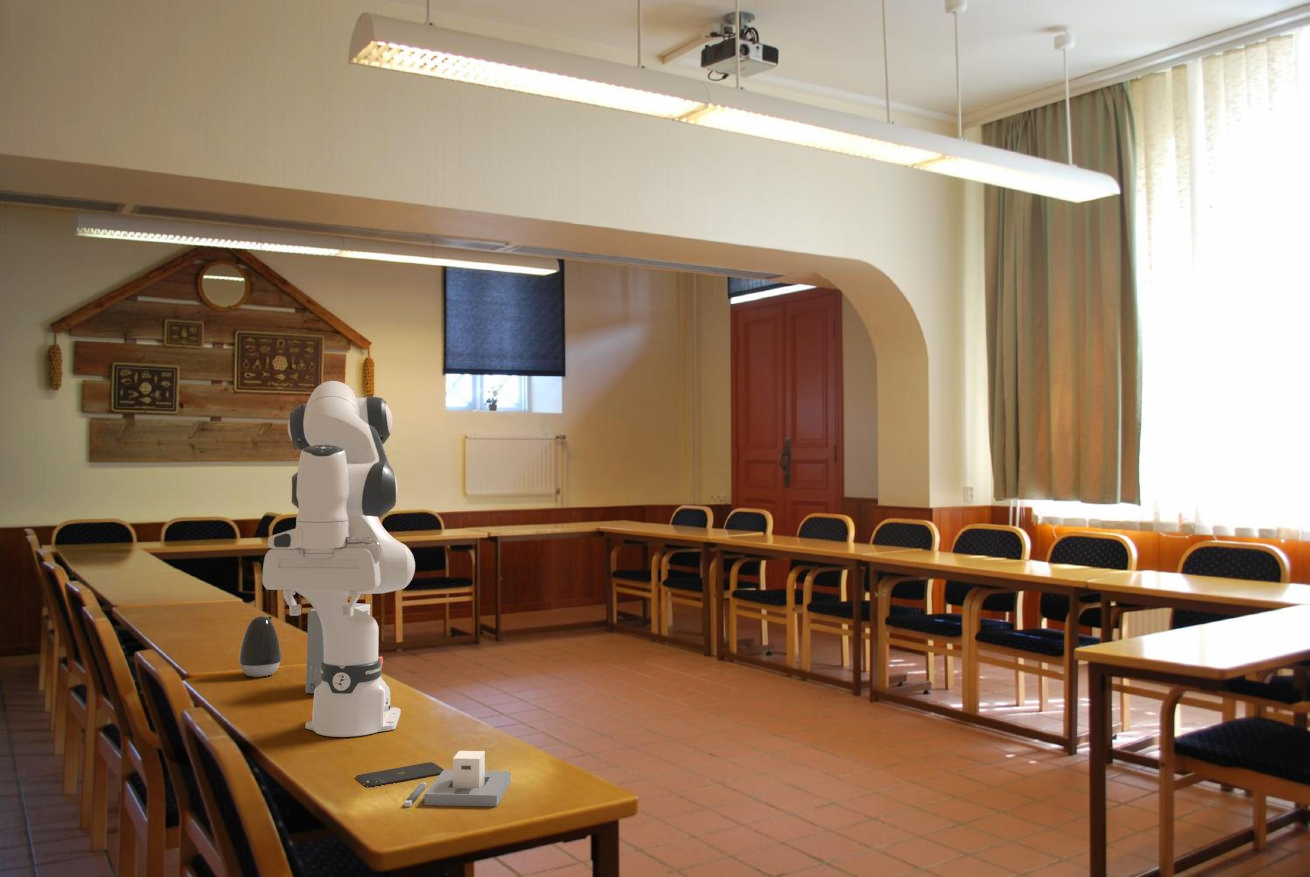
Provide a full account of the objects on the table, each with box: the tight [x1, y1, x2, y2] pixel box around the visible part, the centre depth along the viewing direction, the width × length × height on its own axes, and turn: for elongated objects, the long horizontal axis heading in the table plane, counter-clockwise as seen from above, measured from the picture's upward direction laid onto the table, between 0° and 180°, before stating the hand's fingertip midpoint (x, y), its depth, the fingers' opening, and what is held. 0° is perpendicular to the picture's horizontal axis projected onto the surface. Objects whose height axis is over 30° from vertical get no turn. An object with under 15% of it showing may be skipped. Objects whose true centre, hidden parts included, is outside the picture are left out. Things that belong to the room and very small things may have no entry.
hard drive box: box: [305, 602, 371, 695], centre depth 254 cm, size 16×8×20 cm, turn 161°
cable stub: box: [403, 781, 428, 808], centre depth 176 cm, size 10×1×1 cm, turn 178°
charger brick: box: [452, 750, 486, 788], centre depth 178 cm, size 5×4×6 cm
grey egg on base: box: [238, 615, 282, 678], centre depth 268 cm, size 10×10×15 cm
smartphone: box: [354, 761, 445, 788], centre depth 187 cm, size 7×1×15 cm
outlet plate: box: [423, 769, 512, 807], centre depth 178 cm, size 13×12×2 cm
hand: (321, 615), depth 184 cm, fingers open, 8 cm apart
